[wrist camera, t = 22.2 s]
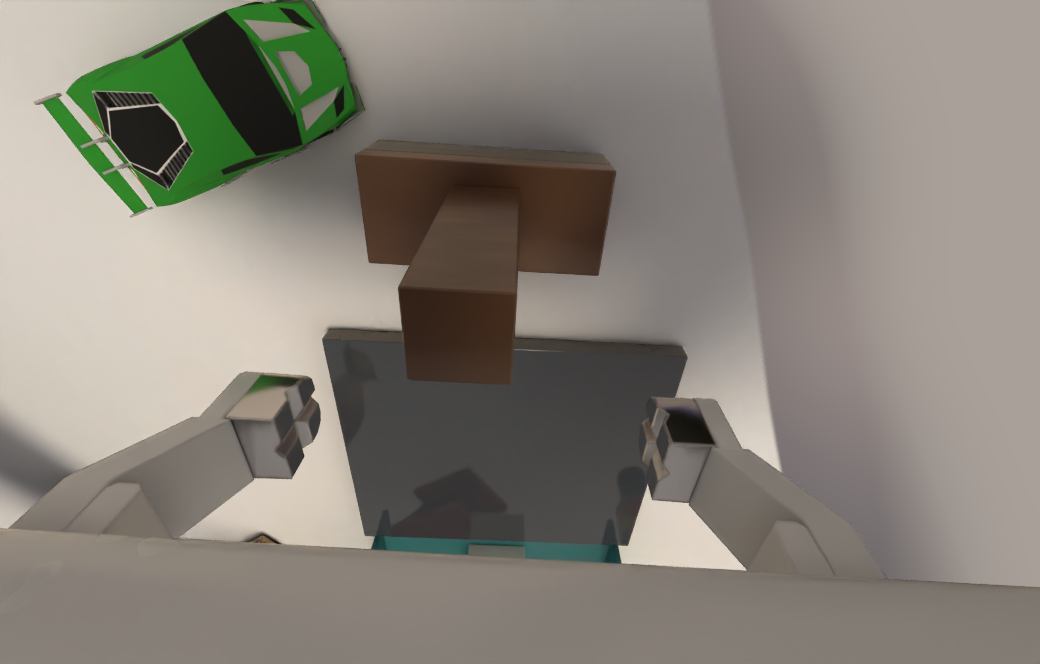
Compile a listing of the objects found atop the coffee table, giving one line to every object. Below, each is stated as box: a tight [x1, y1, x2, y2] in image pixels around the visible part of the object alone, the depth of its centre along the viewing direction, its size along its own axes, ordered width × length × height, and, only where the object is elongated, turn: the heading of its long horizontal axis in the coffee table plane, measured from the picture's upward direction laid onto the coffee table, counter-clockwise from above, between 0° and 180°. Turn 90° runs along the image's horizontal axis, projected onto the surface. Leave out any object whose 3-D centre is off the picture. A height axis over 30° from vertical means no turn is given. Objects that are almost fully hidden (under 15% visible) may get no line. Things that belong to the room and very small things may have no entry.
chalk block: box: [468, 544, 525, 558], centre depth 31 cm, size 4×4×4 cm
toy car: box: [34, 0, 365, 217], centre depth 16 cm, size 10×5×2 cm, turn 110°
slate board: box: [322, 329, 688, 546], centre depth 26 cm, size 18×16×1 cm
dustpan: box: [371, 536, 621, 564], centre depth 36 cm, size 23×17×3 cm
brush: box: [355, 140, 616, 385], centre depth 14 cm, size 9×4×11 cm, turn 87°
